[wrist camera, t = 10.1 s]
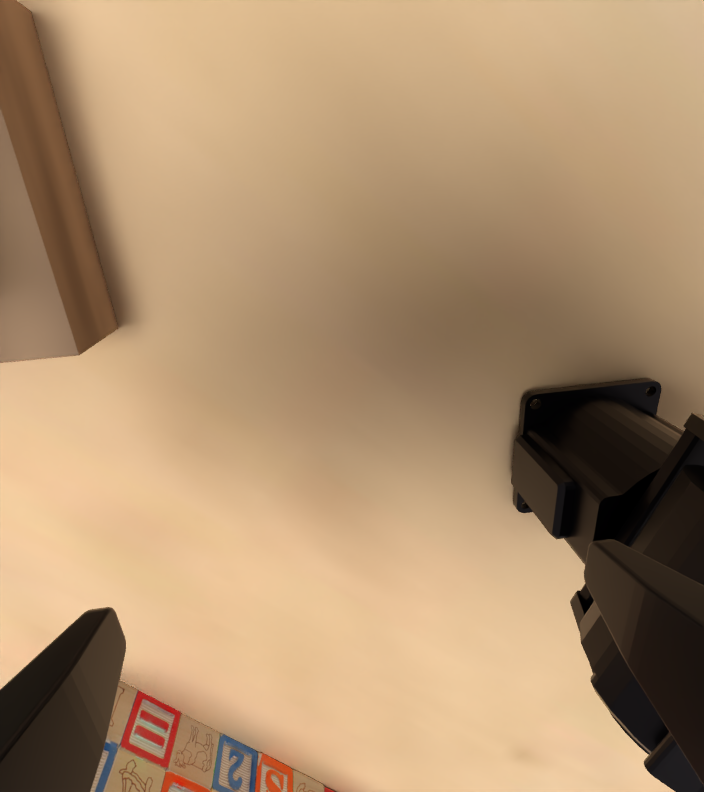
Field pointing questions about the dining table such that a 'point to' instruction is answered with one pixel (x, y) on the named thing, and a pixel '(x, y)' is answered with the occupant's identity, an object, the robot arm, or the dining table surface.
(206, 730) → the stack of blocks
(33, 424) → the dining table surface
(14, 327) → the walnut block
